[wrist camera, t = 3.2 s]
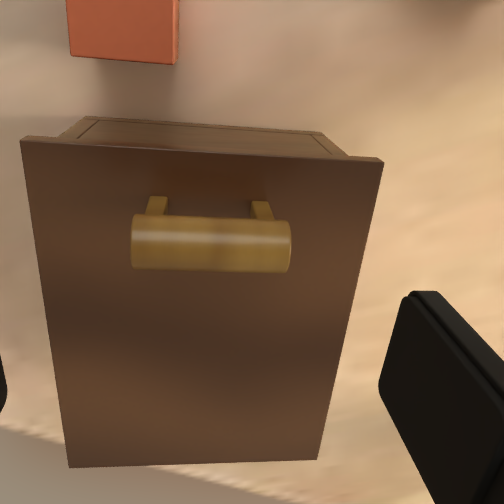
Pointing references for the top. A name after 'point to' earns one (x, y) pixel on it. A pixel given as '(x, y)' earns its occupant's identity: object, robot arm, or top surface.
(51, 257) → the lid
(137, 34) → the block
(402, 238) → the top surface
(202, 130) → the brown open box
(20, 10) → the top surface
